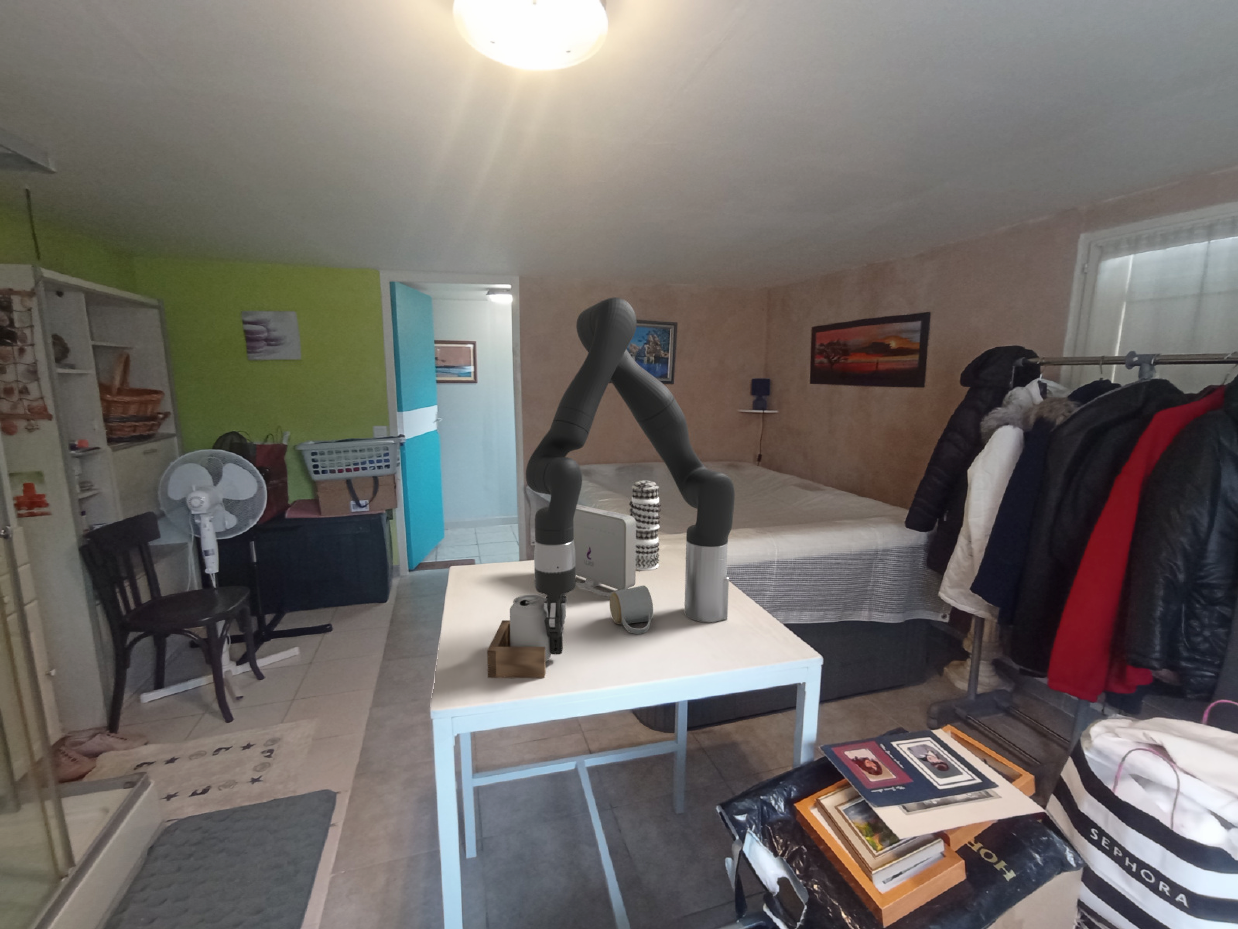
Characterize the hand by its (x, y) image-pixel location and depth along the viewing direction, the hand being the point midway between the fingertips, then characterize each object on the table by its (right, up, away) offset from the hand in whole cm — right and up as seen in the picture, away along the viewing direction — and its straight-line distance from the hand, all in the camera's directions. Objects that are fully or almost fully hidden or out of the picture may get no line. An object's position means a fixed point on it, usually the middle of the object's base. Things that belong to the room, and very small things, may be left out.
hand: (556, 652), depth 99 cm
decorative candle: (+19, +5, +55) cm, 58 cm away
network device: (+5, +4, +40) cm, 40 cm away
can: (-5, -2, 0) cm, 5 cm away
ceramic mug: (+15, 0, +16) cm, 22 cm away
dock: (-7, -1, 0) cm, 7 cm away
